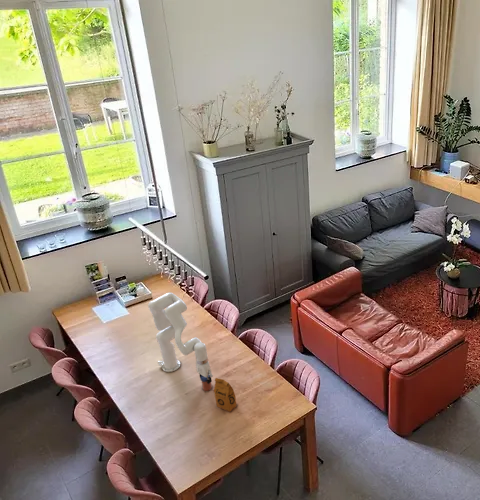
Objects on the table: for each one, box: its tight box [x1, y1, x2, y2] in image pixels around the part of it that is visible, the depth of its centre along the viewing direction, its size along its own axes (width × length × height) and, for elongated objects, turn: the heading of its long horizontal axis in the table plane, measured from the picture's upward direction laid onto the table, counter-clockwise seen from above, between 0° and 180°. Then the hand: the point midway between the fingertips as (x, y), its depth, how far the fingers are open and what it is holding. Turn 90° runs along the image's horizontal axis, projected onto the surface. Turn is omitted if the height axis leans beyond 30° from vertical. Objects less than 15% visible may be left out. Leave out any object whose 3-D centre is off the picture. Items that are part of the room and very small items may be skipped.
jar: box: [201, 381, 213, 392], centre depth 357 cm, size 6×6×9 cm
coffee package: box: [213, 377, 237, 412], centre depth 339 cm, size 10×12×22 cm
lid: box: [199, 375, 210, 383], centre depth 355 cm, size 7×7×2 cm
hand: (206, 380), depth 356 cm, fingers closed on lid, 6 cm apart
